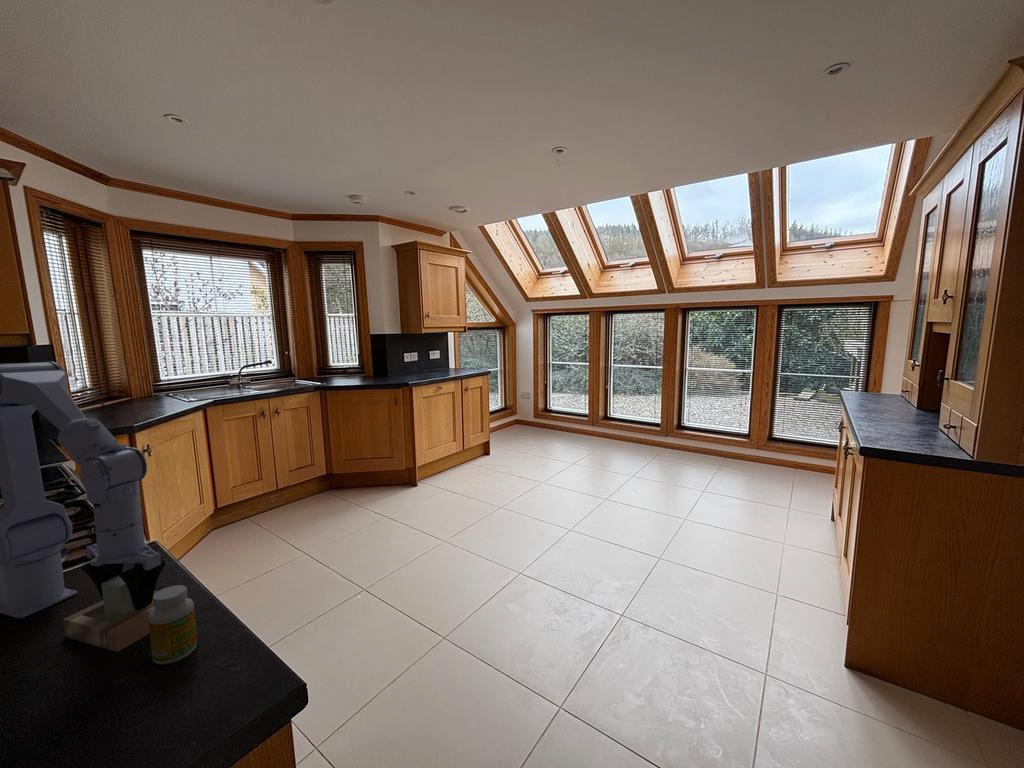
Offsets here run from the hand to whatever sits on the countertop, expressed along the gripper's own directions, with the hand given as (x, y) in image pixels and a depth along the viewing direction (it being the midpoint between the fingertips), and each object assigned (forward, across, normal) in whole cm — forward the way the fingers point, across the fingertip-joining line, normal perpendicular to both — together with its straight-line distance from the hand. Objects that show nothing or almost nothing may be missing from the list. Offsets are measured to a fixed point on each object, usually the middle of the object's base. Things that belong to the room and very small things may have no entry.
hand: (127, 603), depth 72 cm
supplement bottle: (+4, +14, -2) cm, 15 cm away
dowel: (+4, -1, 0) cm, 4 cm away
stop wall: (+4, +4, 0) cm, 6 cm away
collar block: (+4, -2, 0) cm, 4 cm away
